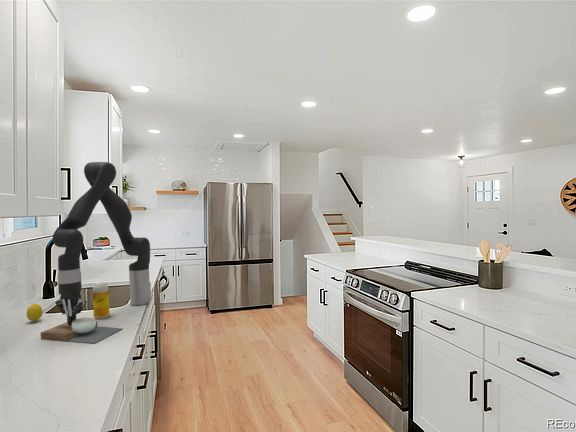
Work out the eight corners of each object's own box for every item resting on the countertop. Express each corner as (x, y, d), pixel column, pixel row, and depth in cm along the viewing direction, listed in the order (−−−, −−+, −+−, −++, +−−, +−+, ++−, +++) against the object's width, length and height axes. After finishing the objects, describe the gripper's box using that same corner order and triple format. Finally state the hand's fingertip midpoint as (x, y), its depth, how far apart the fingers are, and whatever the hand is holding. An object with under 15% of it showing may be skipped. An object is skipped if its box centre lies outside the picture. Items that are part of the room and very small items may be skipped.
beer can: (90, 318, 146) (89, 284, 146) (104, 314, 151) (102, 281, 151) (99, 320, 143) (97, 286, 143) (112, 316, 149) (111, 282, 148)
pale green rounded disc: (83, 321, 132) (84, 316, 132) (100, 327, 131) (101, 321, 131) (65, 329, 125) (66, 323, 124) (83, 335, 123) (84, 328, 123)
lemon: (34, 324, 140) (33, 305, 140) (23, 323, 141) (22, 305, 141) (46, 319, 146) (45, 301, 145) (35, 319, 147) (34, 301, 146)
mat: (98, 327, 135) (98, 326, 135) (122, 329, 132) (122, 328, 132) (67, 341, 121) (67, 340, 121) (94, 343, 118) (94, 342, 118)
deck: (73, 325, 138) (72, 319, 138) (97, 327, 135) (97, 321, 135) (40, 339, 124) (40, 332, 124) (67, 341, 121) (66, 334, 121)
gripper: (91, 279, 131) (93, 322, 131) (64, 278, 134) (66, 320, 134) (75, 283, 123) (77, 329, 124) (47, 282, 126) (49, 327, 127)
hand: (71, 324), depth 129 cm, fingers closed
